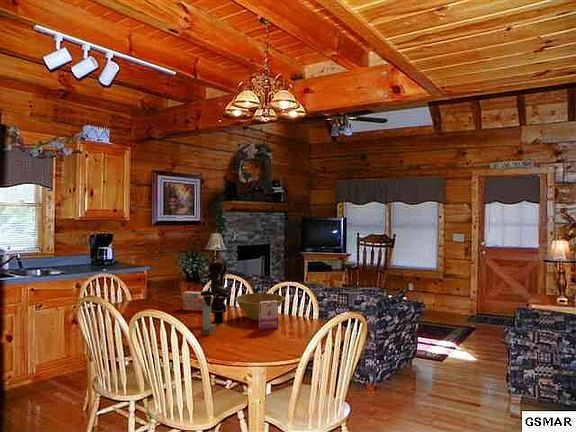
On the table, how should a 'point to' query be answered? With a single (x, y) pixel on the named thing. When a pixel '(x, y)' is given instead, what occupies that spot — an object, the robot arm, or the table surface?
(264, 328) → the candy bar box
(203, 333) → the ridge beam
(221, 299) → the robot arm
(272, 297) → the planter bowl
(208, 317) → the rod
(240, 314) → the table surface
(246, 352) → the table surface
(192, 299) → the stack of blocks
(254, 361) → the table surface
